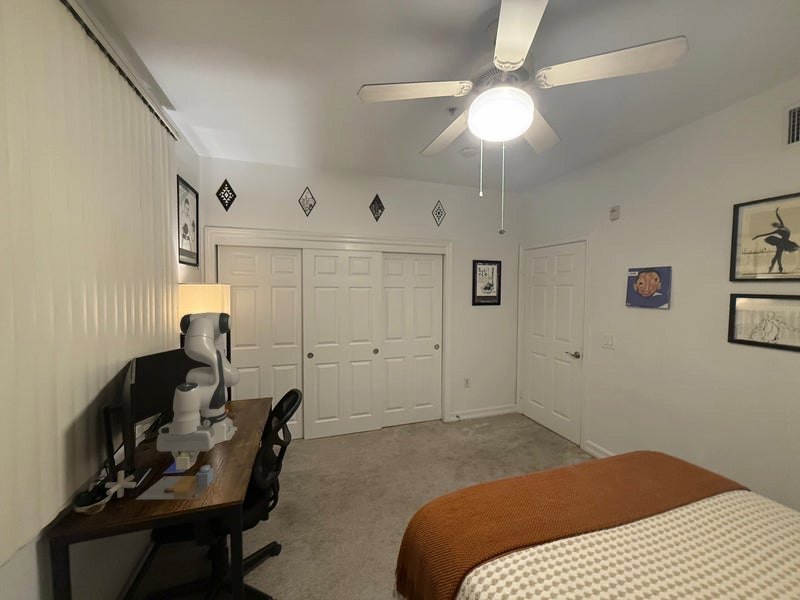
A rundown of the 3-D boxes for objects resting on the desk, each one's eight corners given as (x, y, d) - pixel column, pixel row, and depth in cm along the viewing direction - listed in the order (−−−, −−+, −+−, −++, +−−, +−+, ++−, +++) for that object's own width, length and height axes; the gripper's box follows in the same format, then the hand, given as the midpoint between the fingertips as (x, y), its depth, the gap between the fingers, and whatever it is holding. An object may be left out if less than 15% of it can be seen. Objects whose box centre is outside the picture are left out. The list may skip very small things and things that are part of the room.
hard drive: (183, 471, 134) (196, 457, 146) (162, 473, 132) (177, 458, 144) (183, 475, 134) (196, 460, 146) (162, 476, 132) (177, 461, 144)
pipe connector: (144, 490, 122) (145, 464, 122) (122, 506, 112) (123, 479, 112) (118, 490, 122) (118, 464, 122) (94, 507, 112) (94, 479, 112)
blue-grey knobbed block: (202, 478, 129) (203, 464, 129) (213, 478, 129) (213, 464, 129) (196, 484, 125) (196, 470, 125) (207, 484, 125) (207, 469, 125)
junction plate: (164, 478, 130) (164, 475, 130) (217, 477, 131) (217, 475, 131) (135, 501, 115) (135, 498, 115) (195, 500, 116) (196, 497, 116)
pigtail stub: (168, 486, 123) (168, 476, 123) (196, 486, 123) (197, 476, 123) (158, 495, 118) (158, 484, 118) (188, 495, 118) (188, 484, 118)
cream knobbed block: (183, 463, 123) (183, 448, 123) (194, 463, 123) (195, 448, 123) (175, 469, 118) (176, 453, 118) (187, 469, 118) (188, 453, 118)
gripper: (218, 422, 124) (217, 457, 124) (165, 422, 123) (165, 457, 123) (209, 429, 118) (208, 465, 118) (154, 429, 117) (153, 465, 117)
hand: (185, 461), depth 120 cm, fingers closed on cream knobbed block, 4 cm apart
